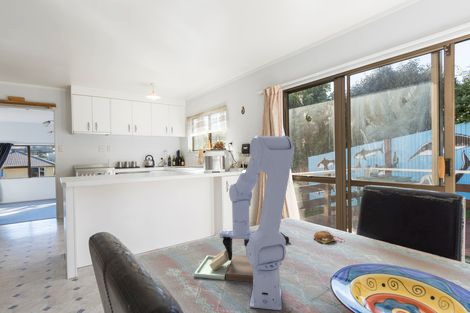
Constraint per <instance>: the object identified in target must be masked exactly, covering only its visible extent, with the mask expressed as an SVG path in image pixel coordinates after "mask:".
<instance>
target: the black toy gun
mask: <svg viewBox="0 0 470 313" xmlns="http://www.w3.org/2000/svg"><path fill="white" fill-rule="evenodd" d="M279 232H280V233H281V234H282V235H283V236H284V238H285V240H286V244H288V243H289V242H290V238H289V236H287V235H285V234H284V233H282V232H281V231H279ZM243 241H244V244H243V245H244V246H247V244H248V242H249V239H243Z"/></svg>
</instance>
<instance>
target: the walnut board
mask: <svg viewBox="0 0 470 313" xmlns="http://www.w3.org/2000/svg"><path fill="white" fill-rule="evenodd" d="M232 257H233V259H232V261H231V263H230V265H229V268H228V270H227V272H226V277H225V280H226V281H237V282H250V283H253V266H251V264H250V263H249V262H248V260H247V257H246V255H241V254H234V255H233V256H232Z"/></svg>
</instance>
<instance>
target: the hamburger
mask: <svg viewBox="0 0 470 313" xmlns="http://www.w3.org/2000/svg"><path fill="white" fill-rule="evenodd" d="M336 237H337V239H338V240H337V239H336ZM313 239H314V240H315V241H316V242H318V243H322V244H324V245H325V244H328V243H331V242H333V241H335V242H336V241H338V242H339V244H341V243H344V242H345V243H346V241H345V240H344V239H343V238H341V237H338V236H334V235H333V234H331V232H329V231H328V230H318V231H316V232H315V233H314V235H313ZM342 240H344V242H343V241H342ZM340 242H341V243H340Z"/></svg>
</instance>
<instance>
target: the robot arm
mask: <svg viewBox="0 0 470 313" xmlns="http://www.w3.org/2000/svg"><path fill="white" fill-rule="evenodd" d="M295 148H296V147H295V145H294V143H293V141H292V139H291V138H290V137H289V136H288V135H279V136H278V135H277V136H276V135H257V134H256V135H254V136H253V137H252V139H251V140H250V144H249V154H250V158H249V161H248V163H247V167H246V169H244V170H242V171H241V172H240V173H239V176H238V178H237V180H236V182H235V183H233V184H230V186H229V190H228V196H229V199H230V201H231V210H232V213H231V214H232V230H224V231H223V230H220V232H219V239H220V240H221V239H222V244H223V245H224V249H226V250H227V253H228V257H229V260H230V261H231V260H232V257H233V239H238V240H244V239H249V242H248V244H247V245H245V246H246V247H245V256H246V257H247V260H248V262H249V263H250V264H251V266H253V282H252V292H251V297H250V302H249V307H250V308H256V309H264V310H266V309H267V310H274V311H282V288H281V287H280V286H281V285H280V283H281V282H280V278H281V277H280V266H282V265H283V264H282V263H283V262H282V261H284V260H285V259H286V256H287V249H286V244H287V243H286V240H285V238H284V236H283V235H282V234H281V233H282V232H281V231H280V228H281V222H282V221H281V220H282V217H283V213H284V212H283V211H284V206H285V200H286V196H287V195H286V194H287V190H288V183H289V178H290V170H291V169H292V165H293V160H294V156H295V155H294V154H295ZM260 172H263V173H265V175H266V179H265V180H266V181H265V187H264V192H263V199H262V206H261V213H260V218H259V219H260V220H259V224H258V228H257V229H256V231H250V207H251V205H252V204H251V202H252V199H253V192H252V191H253V190H254V188H255V186H256V184H257V183H258V182H259V181H258V179H259V177H258V174H259V173H260ZM280 232H281V233H280Z"/></svg>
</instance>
